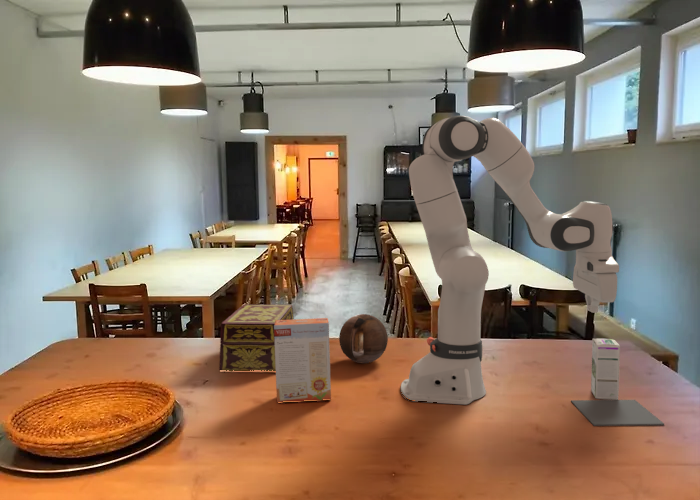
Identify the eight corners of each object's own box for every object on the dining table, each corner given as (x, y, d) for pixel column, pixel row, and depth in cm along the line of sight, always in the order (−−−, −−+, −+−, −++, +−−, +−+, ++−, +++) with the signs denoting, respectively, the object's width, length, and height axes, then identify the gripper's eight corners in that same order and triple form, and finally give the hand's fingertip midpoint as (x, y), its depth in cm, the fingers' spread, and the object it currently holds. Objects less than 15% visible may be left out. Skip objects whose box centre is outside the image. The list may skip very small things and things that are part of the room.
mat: (593, 425, 131) (593, 424, 131) (571, 401, 145) (571, 400, 145) (664, 425, 131) (664, 423, 131) (634, 401, 145) (634, 399, 145)
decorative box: (243, 345, 198) (241, 303, 196) (296, 346, 197) (295, 303, 195) (218, 373, 171) (216, 324, 169) (280, 374, 169) (278, 324, 167)
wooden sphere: (357, 351, 189) (357, 307, 187) (396, 359, 180) (396, 313, 178) (329, 364, 177) (328, 316, 175) (370, 373, 168) (369, 323, 166)
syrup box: (619, 400, 145) (621, 345, 144) (594, 399, 147) (596, 344, 145) (613, 392, 151) (616, 338, 149) (589, 390, 152) (591, 337, 150)
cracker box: (330, 393, 153) (328, 316, 151) (331, 402, 147) (329, 322, 145) (277, 395, 152) (274, 318, 150) (276, 404, 146) (273, 324, 144)
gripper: (567, 256, 165) (566, 303, 166) (597, 267, 144) (596, 321, 146) (589, 255, 165) (588, 302, 166) (622, 267, 144) (620, 320, 146)
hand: (592, 311), depth 156 cm, fingers closed
